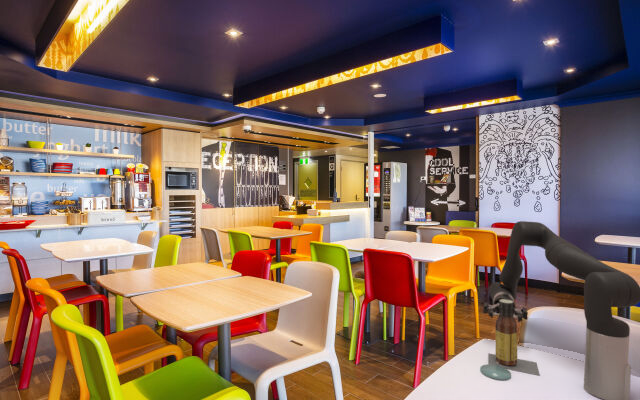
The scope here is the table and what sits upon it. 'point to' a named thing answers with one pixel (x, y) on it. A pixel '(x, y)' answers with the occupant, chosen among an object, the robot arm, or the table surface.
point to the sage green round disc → (495, 372)
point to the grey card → (520, 366)
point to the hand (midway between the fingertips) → (505, 317)
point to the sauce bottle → (506, 334)
